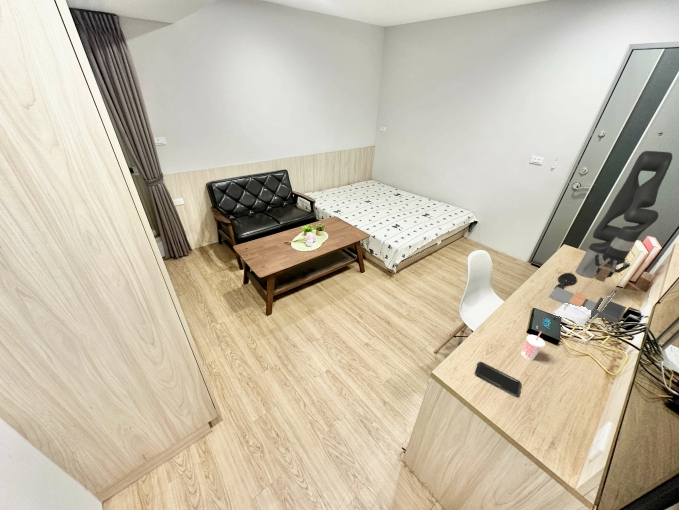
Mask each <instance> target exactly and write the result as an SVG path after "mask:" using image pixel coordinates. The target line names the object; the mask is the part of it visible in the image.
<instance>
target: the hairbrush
mask: <svg viewBox="0 0 679 510" xmlns="http://www.w3.org/2000/svg"><path fill="white" fill-rule="evenodd" d="M557 281H558V284H557V285H556V286H554V288H553V290H554V289H555V288H556V287H559V288H561V289H563V288H564V286H567V287H569V286H570V287H571V286H574V285H575V284H576V282H577V276H576V275H575V274H574V273H571V272H563V273H562V274H560V275H559V277H558V278H557Z"/></svg>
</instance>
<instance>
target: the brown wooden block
mask: <svg viewBox="0 0 679 510" xmlns="http://www.w3.org/2000/svg"><path fill="white" fill-rule="evenodd" d="M611 270H612V265H610V264H605V265H604V266H603V267H602V269H601V270H600V272H599V273H598V274H597V275H596V276H595V278H594V279H595V280H597V281H600V282H602V283H604V282H605V281H606V279H608V278H607V276H608V275H609V273H610V272H611Z"/></svg>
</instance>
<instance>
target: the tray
mask: <svg viewBox="0 0 679 510" xmlns="http://www.w3.org/2000/svg"><path fill="white" fill-rule="evenodd" d="M603 299H605V298H604V297H600V298H599V299H598V301H597V302H596V303H597V304H596V305H595V307H594V309H593V310H592V312H591V316H592V317H594V316H595V315H596V314H597V313H599V314H598V318H605V319H607V320H608V321H611V322H619V323H621V321H622V319H623V316H624V313H625V311H626V309H627V307H626V306H624V305H622V304H619V303H617V302H614V301H611V300H609V301H610V302H609V303H608V304H607V306H606V307H605V308H604V310H603V311H602V312H599V311H598V310H597V309H598V307H599V305H600V304H601V302H602V301H603Z"/></svg>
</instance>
